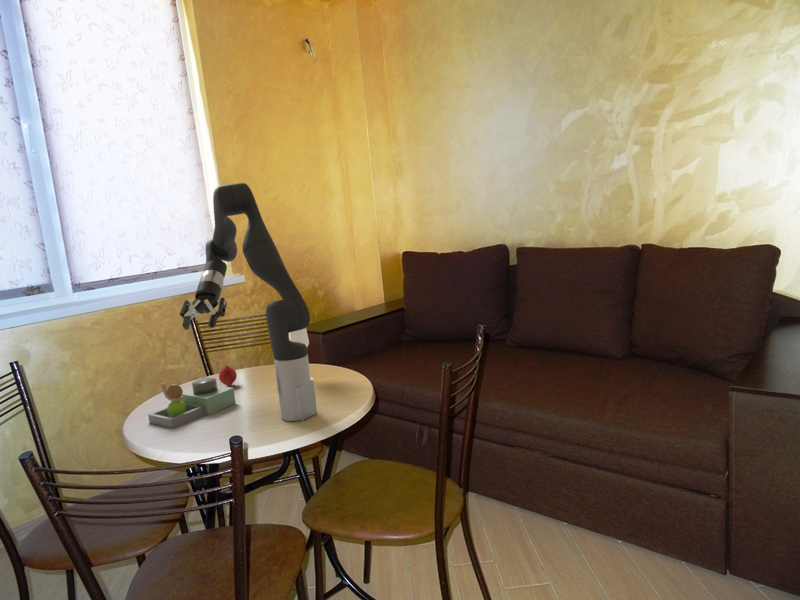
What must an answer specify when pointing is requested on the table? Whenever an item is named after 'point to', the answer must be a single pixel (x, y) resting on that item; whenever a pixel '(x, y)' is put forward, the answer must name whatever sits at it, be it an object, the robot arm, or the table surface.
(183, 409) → the snail figurine
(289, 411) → the robot arm
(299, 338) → the champagne flute
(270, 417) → the table surface
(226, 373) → the onion
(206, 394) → the box with drawer
